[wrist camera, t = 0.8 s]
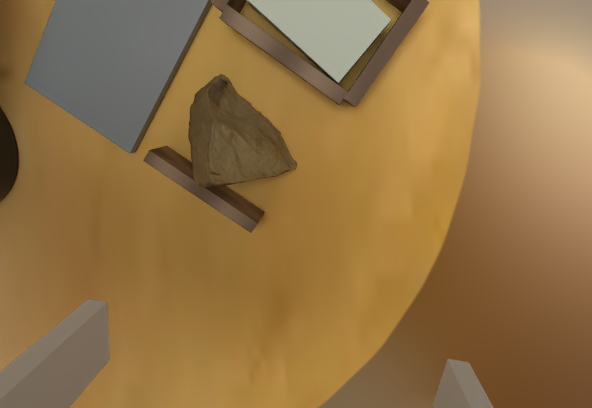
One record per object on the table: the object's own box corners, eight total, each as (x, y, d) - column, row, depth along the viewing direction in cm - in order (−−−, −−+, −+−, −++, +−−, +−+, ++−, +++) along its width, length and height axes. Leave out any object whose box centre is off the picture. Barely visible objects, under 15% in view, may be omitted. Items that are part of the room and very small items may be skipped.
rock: (163, 75, 31) (177, 186, 32) (184, 44, 23) (202, 189, 25) (271, 80, 36) (280, 175, 37) (316, 55, 29) (325, 175, 30)
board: (32, 83, 35) (24, 82, 34) (104, -101, 29) (97, -108, 29) (135, 152, 35) (129, 153, 34) (222, -16, 30) (218, -20, 29)
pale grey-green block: (251, 6, 31) (240, -8, 27) (294, -55, 29) (288, -79, 25) (337, 85, 32) (338, 82, 28) (383, 30, 30) (391, 19, 26)
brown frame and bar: (151, 148, 35) (132, 153, 32) (283, -99, 28) (276, -126, 25) (268, 227, 36) (261, 239, 33) (423, 7, 29) (434, -5, 26)
